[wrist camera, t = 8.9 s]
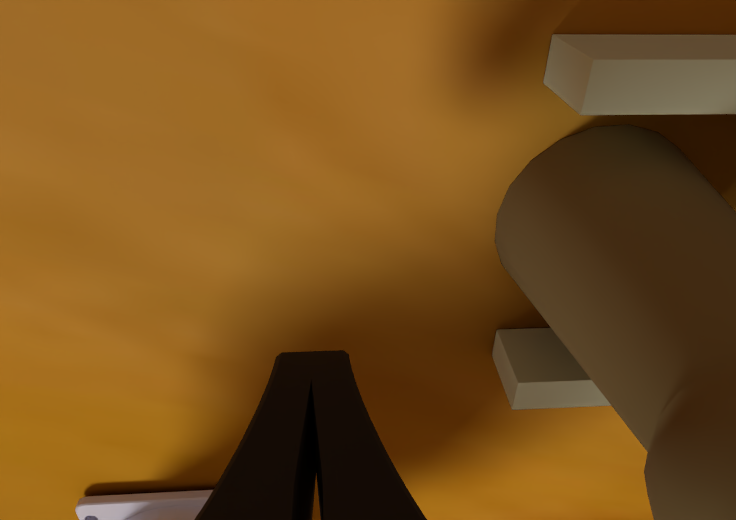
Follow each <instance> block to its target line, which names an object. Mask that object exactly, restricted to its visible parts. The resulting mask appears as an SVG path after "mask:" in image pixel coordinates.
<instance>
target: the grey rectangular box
mask: <svg viewBox="0 0 736 520" xmlns="http://www.w3.org/2000/svg"><path fill="white" fill-rule="evenodd" d="M543 83H544V84H545V85H546V86H547V87H548V88H550V89H551V90H552V91H553V92H554V93H555V94H557V95H558V96H559V97H560V98H561V99H562V100H564V101H565V102H566V103H567V104H568V105H569V106H570V107H572V108H573V109H574V110H575V111H576V112H577V113H579V114H580V115H668V114H736V35H638V34H552V39H551V45H550V50H549V55H548V60H547V66H546V71H545V76H544V82H543ZM492 357H493V360H494V363H495V365H496V368H497V371H498V374H499V376H500V379H501V382H502V384H503V387H504V390H505V393H506V395H507V398H508V401H509V403H510V406H511V409H512V410H520V409H543V408H565V407H587V406H610V405H611V404H610V403H609V402H608V400H607V399H606V398H605V396H604V395H603V394H602V393H601V391H600V390H599V389H598V387H597V386H596V385H595V384H594V382H593V381H592V380H591V379H590V377H589V376H588V375H587V373H586V372H585V371H584V370H583V368H582V367H581V366H580V364H579V363H578V362H577V361H576V359H575V358H574V357H573V355H572V354H571V353H570V352H569V350H568V349H567V348H566V346H565V345H564V344H563V343H562V341H561V340H560V339H559V337H558V336H557V335H556V334H555V332H554V331H553V330H552V328H528V329H499V330H496V336H495V341H494V346H493V352H492Z"/></svg>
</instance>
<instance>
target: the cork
mask: <svg viewBox="0 0 736 520" xmlns="http://www.w3.org/2000/svg"><path fill="white" fill-rule="evenodd" d="M495 243H496V247H497V250H498V254H499V257H500V260H501V264H502V265H503V267H504V268H505V269H506V271H507V272H508V273H509V274H510V276H511V277H512V278H513V280H514V281H515V282H516V283H517V285H518V286H519V287H520V289H521V290H522V291H523V292H524V294H525V295H526V296H527V298H528V299H529V300H530V301H531V303H532V304H533V305H534V307H535V308H536V309H537V310H538V312H539V313H540V314H541V316H542V317H543V318H544V319H545V321H546V322H547V323H548V325H549V326H550V327H551V328H552V330H553V331H554V332H555V334H556V335H557V336H558V337H559V339H560V340H561V341H562V343H563V344H564V345H565V346H566V348H567V349H568V350H569V352H570V353H571V354H572V355H573V357H574V358H575V359H576V361H577V362H578V363H579V364H580V366H581V367H582V368H583V370H584V371H585V372H586V373H587V375H588V376H589V377H590V379H591V380H592V381H593V382H594V384H595V385H596V386H597V387H598V389H599V390H600V391H601V393H602V394H603V395H604V396H605V398H606V399H607V400H608V402H609V403H610V404H611V405H612V407H613V408H614V409H615V411H616V412H617V413H618V414H619V416H620V417H621V418H622V420H623V421H624V422H625V423H626V425H627V426H628V427H629V429H630V430H631V431H632V432H633V434H634V435H635V436H636V438H637V439H638V440H639V441H640V443H641V444H642V445H643V447H644V448H645V449H646V450H647V452H648V454H647V459H646V464H645V470H644V474H645V480H646V487H647V493H648V497H649V502H650V506H651V510H652V514H653V518H654V520H736V212H735V211H734V210H733V209H732V208H731V206H730V205H729V204H728V203H727V202H726V201H725V200H724V199H723V197H722V196H721V195H720V194H719V193H718V192H717V191H716V190H715V188H714V187H713V186H712V185H711V184H710V183H709V182H708V180H707V179H706V178H705V177H704V176H703V175H702V174H701V173H700V171H699V170H698V169H697V168H696V167H695V166H694V165H693V164H692V162H691V161H690V160H689V159H688V158H687V157H686V156H685V155H684V153H683V152H682V151H681V150H680V149H679V148H678V147H676V146H675V145H674V144H673V143H671V142H670V141H669V140H667V139H666V138H665V137H663V136H662V135H661V134H660V133H658V132H655V131H651V130H648V129H644V128H640V127H636V126H632V125H629V124H628V125H615V126H601V127H593V128H591V129H588V130H585V131H583V132H580V133H577V134H575V135H572V136H569V137H566V138H564V139H561V140H560V141H558V142H557V143H555V144H554V145H552V146H551V147H550V148H548V149H547V150H545V151H544V152H543V153H541V154H540V155H538V156H537V157H535V158H534V159H533V160H531V161H530V163H529V164H528V165H527V166H526V167H525V169H524V170H523V171H522V172H521V173H520V174H519V176H518V177H517V178H516V179H515V180H514V182H513V183H512V184H511V185H510V186H509V189H508V191H507V193H506V195H505V198H504V200H503V202H502V205H501V207H500V209H499V211H498V214H497V222H496V233H495Z"/></svg>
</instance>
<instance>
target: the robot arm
mask: <svg viewBox="0 0 736 520" xmlns="http://www.w3.org/2000/svg"><path fill="white" fill-rule="evenodd" d="M316 474H317V484H318V495H319V505H320V516H321V520H427V519H426V518H425V516H424V515H423V513H422V511H421V510H420V508H419V507H418V505H417V504H416V502H415V501H414V499H413V497H412V496H411V494H410V493H409V491H408V489H407V488H406V486H405V484H404V482H403V481H402V479H401V477H400V476H399V474H398V472H397V470H396V468H395V467H394V465H393V463H392V461H391V459H390V458H389V456H388V454H387V452H386V450H385V448H384V446H383V444H382V442H381V440H380V438H379V436H378V434H377V432H376V430H375V428H374V425H373V423H372V421H371V419H370V417H369V415H368V412H367V410H366V408H365V405H364V403H363V401H362V398H361V395H360V393H359V390H358V387H357V385H356V382H355V379H354V375H353V372H352V368H351V364H350V360H349V354H347V353H346V352H345V351H343V350H339V351H313V352H287V353H281V354H279V355H278V356H277V357H276V359H275V363H274V367H273V370H272V373H271V376H270V379H269V381H268V384H267V386H266V389H265V391H264V394H263V396H262V398H261V401H260V403H259V405H258V408H257V410H256V412H255V414H254V416H253V418H252V420H251V422H250V424H249V426H248V428H247V430H246V432H245V434H244V436H243V439H242V440H241V442H240V444H239V446H238V448H237V450H236V452H235V453H234V455H233V457H232V459H231V460H230V462H229V464H228V466H227V467H226V469H225V471H224V473H223V475H222V476H221V478H220V480H219V482H218V483H217V485H216V487H215V488H214V490H198V491H179V492H160V493H141V494H122V495H103V496H87V497H83V498H81V499H80V500H79V501H78V503H77V506H76V508H75V510H76V513H77V516H78V518H79V520H312V513H313V502H314V491H315V480H316Z"/></svg>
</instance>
